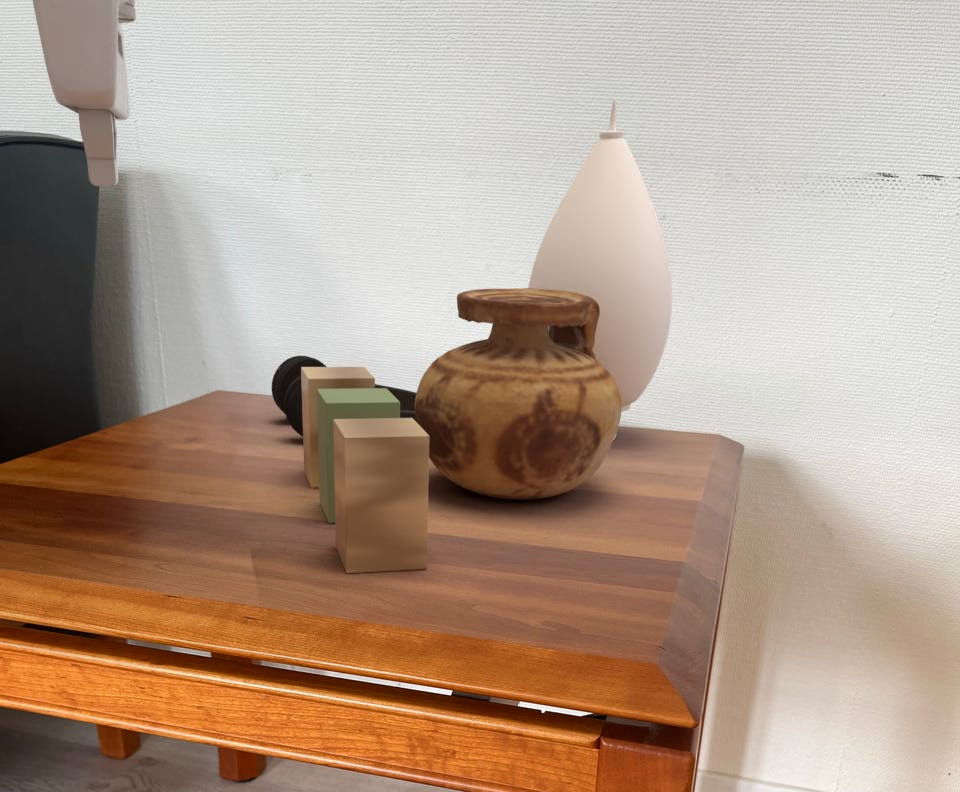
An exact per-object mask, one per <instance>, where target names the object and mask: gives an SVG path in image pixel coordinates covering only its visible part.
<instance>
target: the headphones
mask: <svg viewBox="0 0 960 792" xmlns="http://www.w3.org/2000/svg"><path fill="white" fill-rule="evenodd" d="M301 367H328V366H327V365H326V364H324V363H323V362H322V361H321V360H320V359H317V358H315V357H311V356H307V355H296V356H291V357H288V358H287V359H286V360H284V361H283V362H282V363H281V364H279V366H278V367H277V368H276V370H275V371H274V374H273V376H272V380H271V396H272V400H273V401H274V403H275V405H276V406H277V408H278V409H279V410H280V411H281V412H282V413H283V414H284V415H285V417H286V420H287V422H288V424H289V425H290V427H291V428H292V430H293V431H294V432H296V433H297V434H298V435H299V436H300V437H303V415H302V383H301ZM375 388H387V389H388V390H389V391H390V392H391V393H392V394H393V395H394V396H395V398H396V399H397V400H398V401H399V402H400V418H413V419H414V420H415V421H416V417H415V398H416V393H417V391H411V390H407V389H404V388H397V387H393V386H388V385H382V384H377V383H375Z"/></svg>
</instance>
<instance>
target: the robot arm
mask: <svg viewBox="0 0 960 792" xmlns="http://www.w3.org/2000/svg"><path fill="white" fill-rule="evenodd" d="M32 6H33V10H34V15H35V20H36V24H37V29H38V35H39V39H40V44H41V48H42V55H43V59H44V63H45V68H46V73H47V75H48V80H49V83H50V87H51V90H52V93H53V95H54V98H55V101H56V102H57V103H58V104H59V105H60V106H62V107H65V108H66V109H69V110H71V111H73V112H75V113H76V114H78V121H79V131H80V136H81V140H82V144H83V148H84V153H85V157H86V164H87V165H86V166H87V172H88V181H89V182H90V184H91V185H93V186H94V187H109V188H110V187H115V186H116V185H118V183H119V170H118V161H117V156H118V155H117V154H118V132H117V121H118V120H119V121H127V120H128V119H129V117H130V110H131V109H130V107H131V106H130V95H129V85H128V73H127V65H126V64H127V63H126V54H125V44H124V35H123V34H124V33H123V27H122V24H127V23H133V22H135V21H136V20H137V12H136V8H135V7H136V1H135V0H32Z"/></svg>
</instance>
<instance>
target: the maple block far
mask: <svg viewBox="0 0 960 792" xmlns="http://www.w3.org/2000/svg"><path fill="white" fill-rule="evenodd" d="M301 383H302V415H303V436H302V443H303V446H302V447H303V471H304V473H305V476H306V478H307V481H308V484H309V486H310V488H311V489H313V488H315V489H316V488H318V489H319V458H318V416H317V389H358V388H375V384H376V377H374V375H372V373H371V372H370V371H369V370H368V369H367V368H366V367H365V366H327V367H301Z"/></svg>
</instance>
